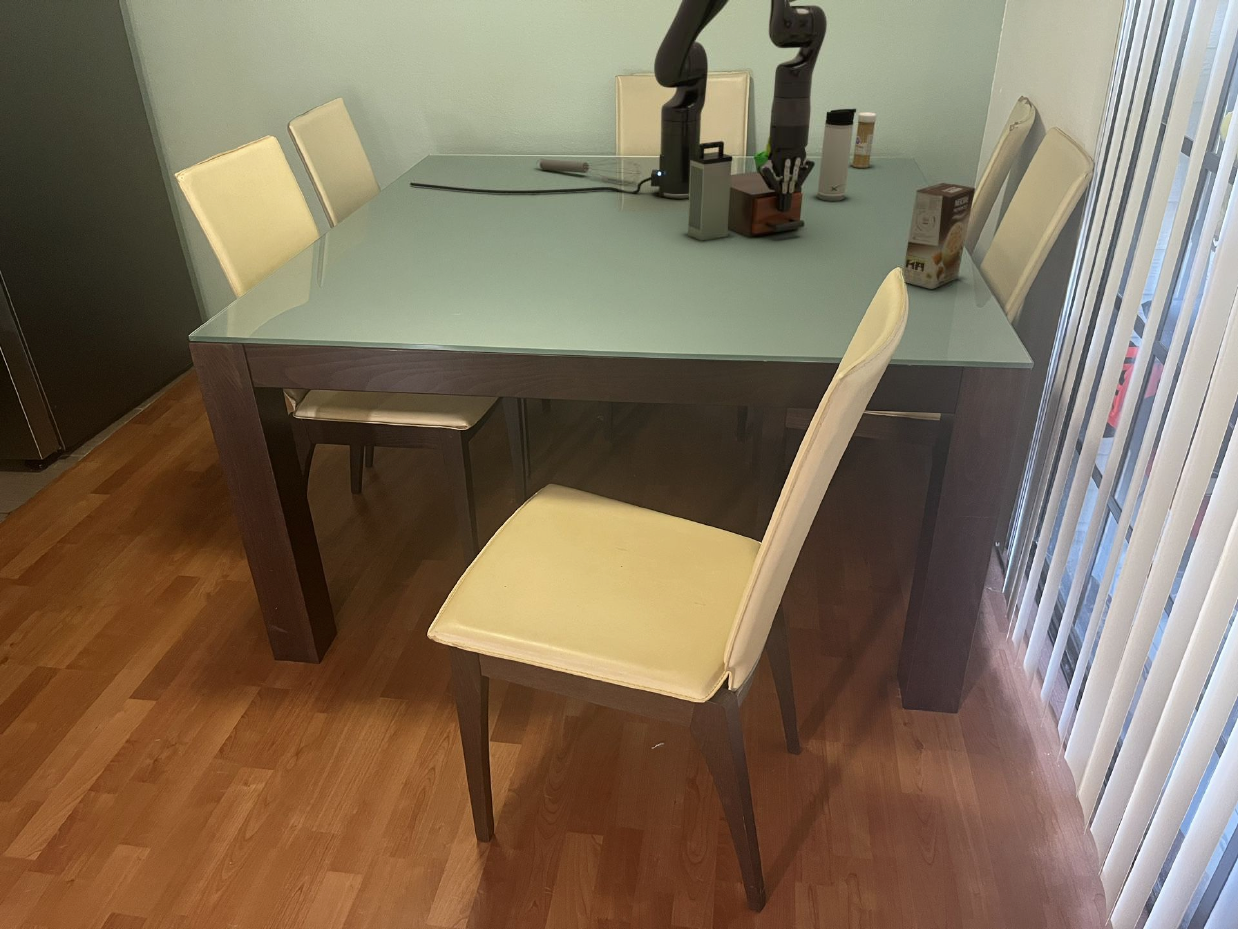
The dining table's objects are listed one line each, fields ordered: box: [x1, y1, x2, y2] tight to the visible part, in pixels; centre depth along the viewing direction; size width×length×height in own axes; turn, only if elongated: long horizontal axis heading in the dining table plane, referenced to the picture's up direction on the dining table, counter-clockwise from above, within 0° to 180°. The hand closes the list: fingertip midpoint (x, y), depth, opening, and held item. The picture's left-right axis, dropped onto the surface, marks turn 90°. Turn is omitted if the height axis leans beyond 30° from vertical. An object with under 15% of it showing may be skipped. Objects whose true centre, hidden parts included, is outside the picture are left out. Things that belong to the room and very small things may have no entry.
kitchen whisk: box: [535, 156, 642, 185], centre depth 230 cm, size 6×34×6 cm, turn 54°
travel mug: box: [816, 108, 857, 202], centre depth 207 cm, size 6×7×20 cm
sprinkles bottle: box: [851, 111, 877, 169], centre depth 237 cm, size 5×5×14 cm
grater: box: [687, 140, 733, 242], centre depth 181 cm, size 5×7×18 cm
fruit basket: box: [753, 137, 774, 175], centre depth 228 cm, size 11×9×11 cm
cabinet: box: [728, 171, 803, 238], centre depth 191 cm, size 17×13×9 cm
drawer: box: [752, 192, 805, 234], centre depth 188 cm, size 20×11×7 cm, turn 29°
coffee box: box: [902, 182, 976, 290], centre depth 157 cm, size 9×6×16 cm
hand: (782, 211), depth 183 cm, fingers closed
